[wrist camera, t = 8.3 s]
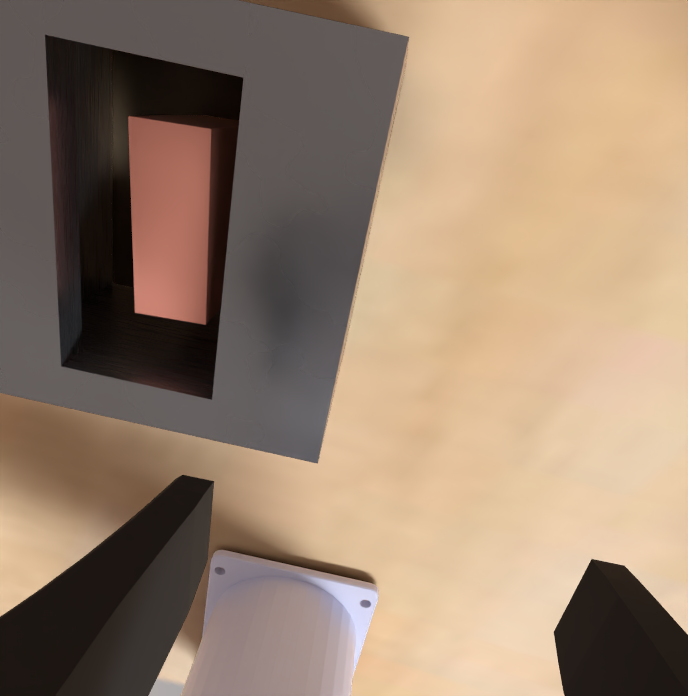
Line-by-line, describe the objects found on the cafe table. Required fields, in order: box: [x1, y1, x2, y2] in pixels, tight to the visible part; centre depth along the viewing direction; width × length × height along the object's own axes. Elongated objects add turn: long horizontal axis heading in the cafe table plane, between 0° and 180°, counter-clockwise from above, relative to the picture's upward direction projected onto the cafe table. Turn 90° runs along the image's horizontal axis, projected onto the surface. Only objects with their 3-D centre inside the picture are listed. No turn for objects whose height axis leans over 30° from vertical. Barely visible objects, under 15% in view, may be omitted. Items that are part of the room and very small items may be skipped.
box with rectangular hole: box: [0, 0, 409, 463], centre depth 15 cm, size 10×10×6 cm
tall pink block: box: [128, 115, 239, 325], centre depth 15 cm, size 5×2×5 cm, turn 172°
